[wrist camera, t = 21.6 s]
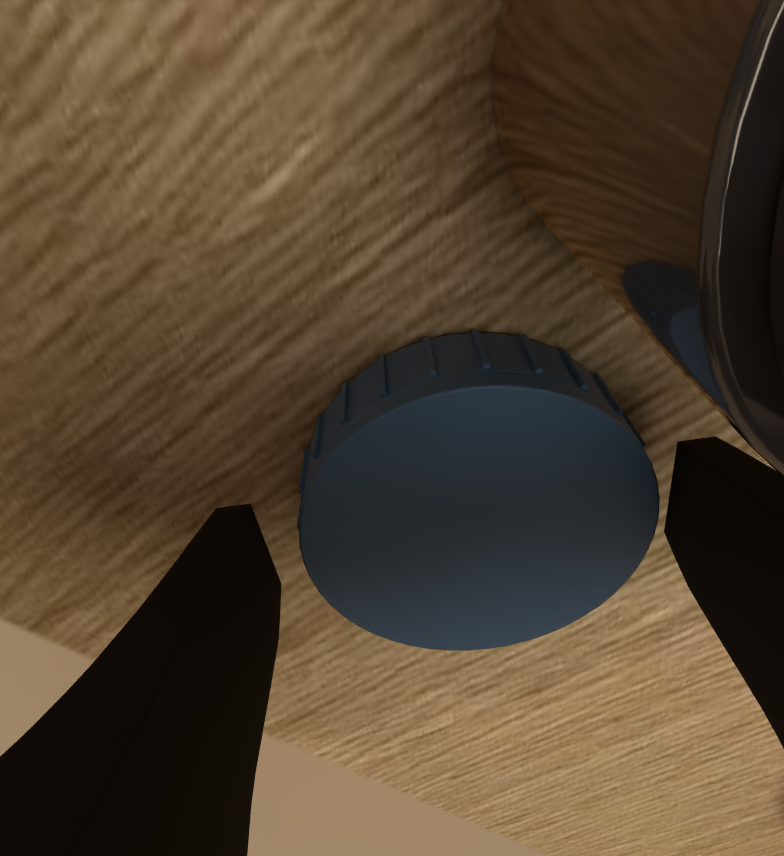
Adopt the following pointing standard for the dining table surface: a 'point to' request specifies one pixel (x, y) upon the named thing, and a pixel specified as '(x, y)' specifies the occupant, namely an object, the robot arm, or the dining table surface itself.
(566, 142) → the jar
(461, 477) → the lid
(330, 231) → the dining table surface
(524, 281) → the dining table surface
